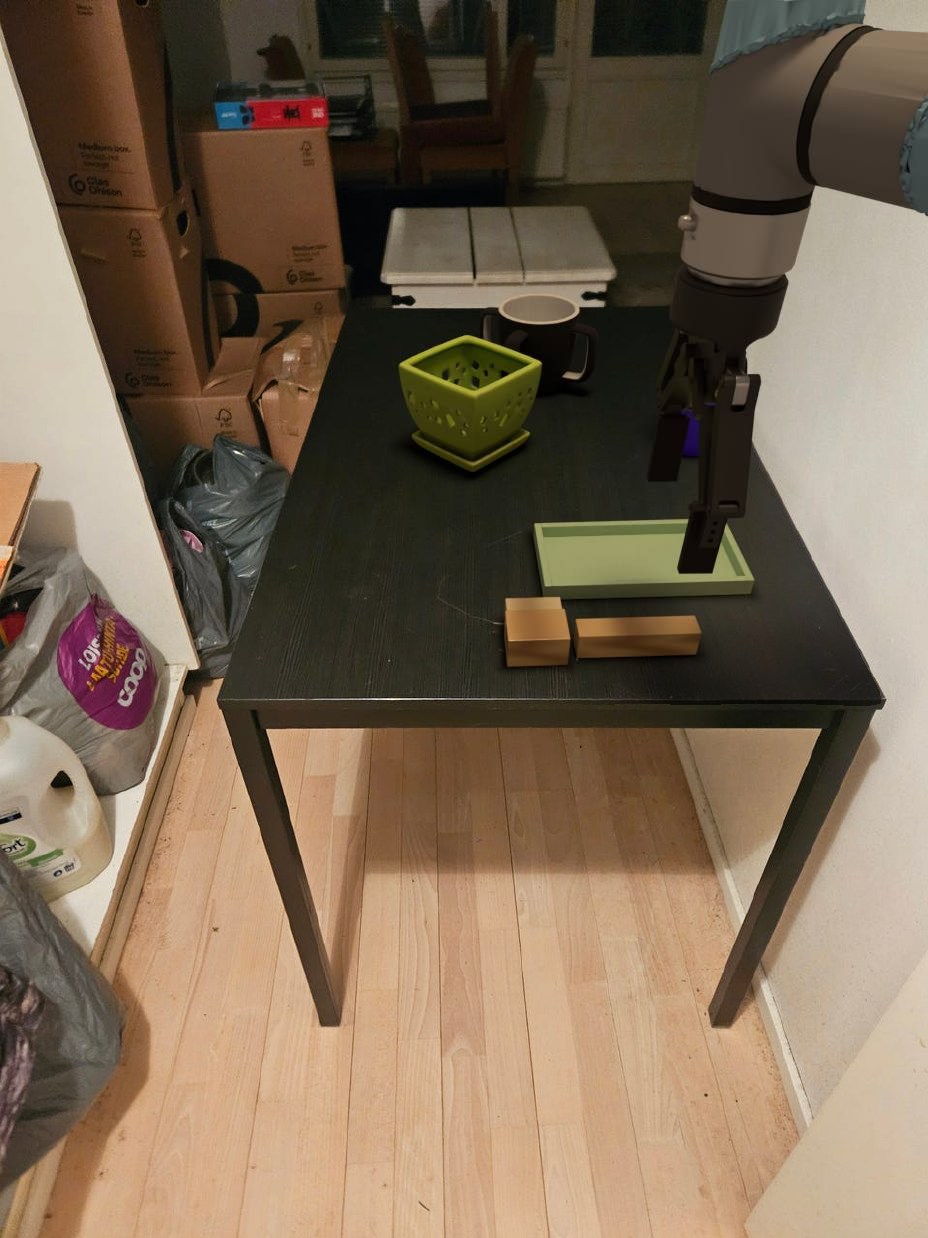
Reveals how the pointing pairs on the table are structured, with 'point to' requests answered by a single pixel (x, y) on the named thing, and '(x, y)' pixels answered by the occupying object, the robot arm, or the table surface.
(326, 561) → the table surface
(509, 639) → the wooden mallet
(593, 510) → the table surface
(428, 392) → the flower pot
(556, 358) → the mug
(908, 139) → the robot arm
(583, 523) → the tray
